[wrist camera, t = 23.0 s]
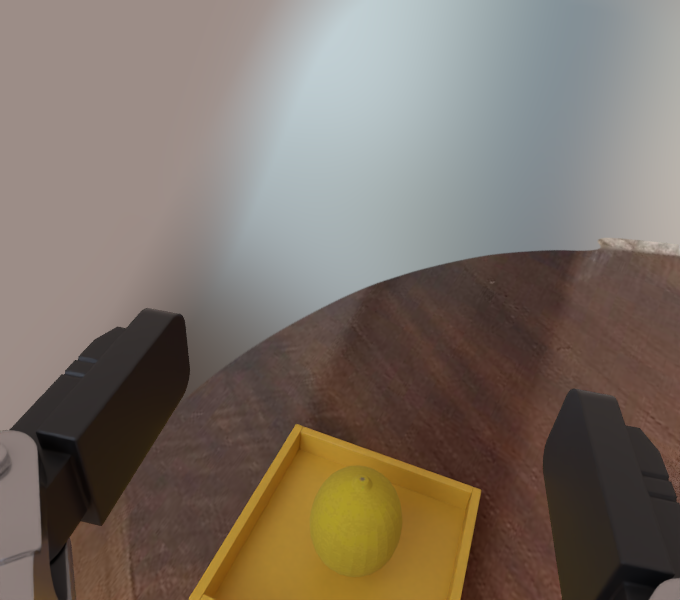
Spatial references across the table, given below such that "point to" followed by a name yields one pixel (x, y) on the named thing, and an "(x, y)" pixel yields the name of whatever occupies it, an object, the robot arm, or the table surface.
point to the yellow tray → (297, 547)
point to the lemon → (356, 521)
